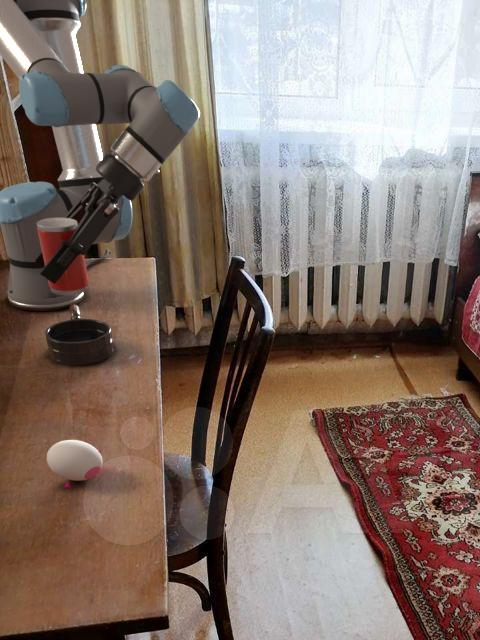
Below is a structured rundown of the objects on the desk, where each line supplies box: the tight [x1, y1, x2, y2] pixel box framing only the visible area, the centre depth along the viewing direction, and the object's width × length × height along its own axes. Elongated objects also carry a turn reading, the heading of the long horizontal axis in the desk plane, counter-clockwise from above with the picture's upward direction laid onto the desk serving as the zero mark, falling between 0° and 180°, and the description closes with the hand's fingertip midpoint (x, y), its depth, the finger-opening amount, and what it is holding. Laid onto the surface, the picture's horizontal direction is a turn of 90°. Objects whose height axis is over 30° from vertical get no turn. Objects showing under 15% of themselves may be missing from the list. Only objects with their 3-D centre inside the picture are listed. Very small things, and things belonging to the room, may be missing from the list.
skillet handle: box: [69, 304, 83, 320], centre depth 131 cm, size 8×2×2 cm, turn 23°
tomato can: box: [37, 218, 90, 295], centre depth 115 cm, size 7×7×12 cm
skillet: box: [44, 318, 115, 367], centre depth 125 cm, size 11×11×4 cm
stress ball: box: [46, 439, 104, 489], centre depth 93 cm, size 8×8×7 cm
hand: (44, 271), depth 115 cm, fingers closed on tomato can, 7 cm apart
